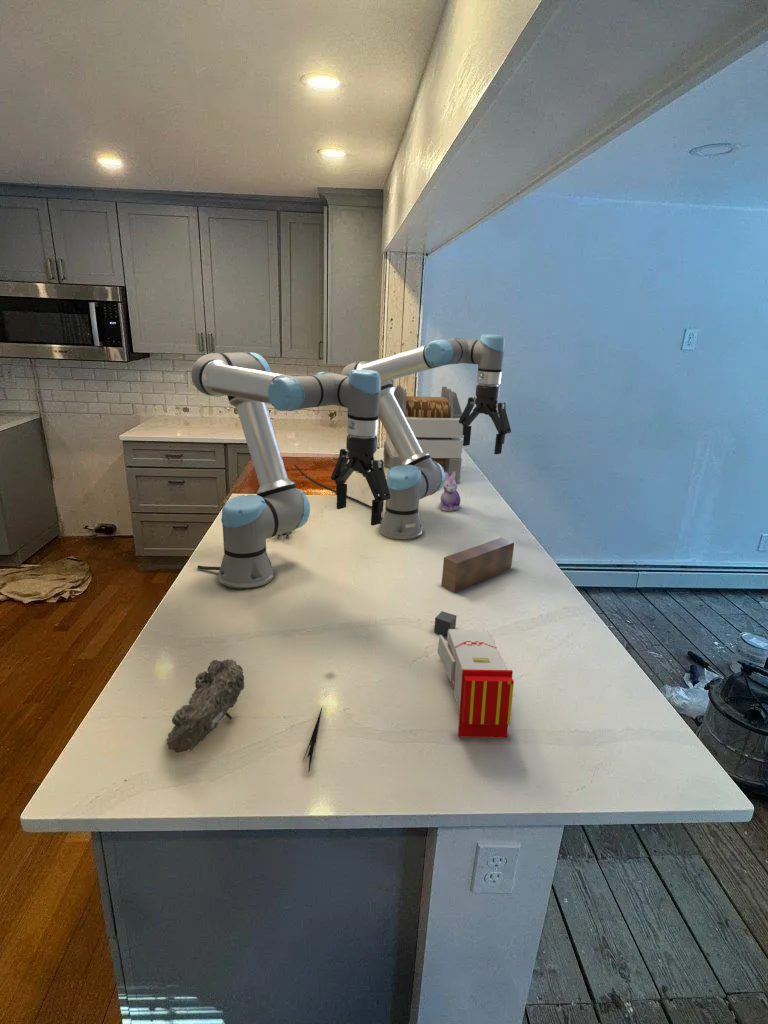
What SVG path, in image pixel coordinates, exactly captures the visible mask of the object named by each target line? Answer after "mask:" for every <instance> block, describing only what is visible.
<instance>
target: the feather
mask: <svg viewBox="0 0 768 1024" xmlns="http://www.w3.org/2000/svg"><path fill="white" fill-rule="evenodd" d="M329 675H330V676H331V675H332V674H331V673H330V674H329ZM322 710H323V707H321V708H320V710H319V713H318V716H317V719H316V723H315V725H314V728H313V731H312V733H311V737H310V739H309V742H308V745H307V748H306V751H305V754H304V757H303V760H302V763H301V767H302V765H303V763H304V761H305V758H308V759H309V760H308V762H307V763H308V764H307V766H308V771H310V770H311V766H312V765H311V764H312V760H313V757H315V756H314V755H315V751H316V749H315V746H317V739H318V733H319V729H320V722H321V717H322V712H323V711H322ZM313 754H314V755H313ZM306 755H307V757H306Z"/></svg>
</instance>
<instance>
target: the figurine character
mask: <svg viewBox="0 0 768 1024" xmlns="http://www.w3.org/2000/svg"><path fill="white" fill-rule="evenodd" d="M291 534H292V531H290V532H286V533H283V534H280V535H277V536H276V538H277V539H280V538H281V536H285V540H287V539H288V538H289V536H290V535H291Z"/></svg>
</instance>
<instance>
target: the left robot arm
mask: <svg viewBox="0 0 768 1024" xmlns="http://www.w3.org/2000/svg"><path fill="white" fill-rule="evenodd" d="M190 376H191V380H192V383H193V386H194V387H195V389H196V390H198V391H199V392H200V393H201V394H204V395H207V396H212V397H216V398H217V397H218V398H220V397H224V396H227V399H228V403H229V404H230V405H231V406H233V407H235V408H236V411H237V414H238V418H239V421H240V425H241V428H242V431H243V432H242V433H243V434H244V435H243V436H244V438H245V441H246V445H247V448H248V452H249V455H250V457H251V461H252V465H253V469H254V472H255V475H256V478H257V482H258V485H259V486H258V487H259V488H258V490H257V491H256V494H246V495H245V494H242V495H238V496H235V497H233V498H230V499H228V500H227V501H226V502H225V503H224V504H223V506H222V507H221V508H222V509H221V510H222V511H221V519H220V520H221V524H222V541H223V542H222V543H223V557H222V560H221V562H220V566H203V565H197V567H196V568H197V569H198V570H202V571H203V570H204V571H218V581H219V583H220V584H221V585H223V586H225V587H227V588H230V589H234V590H235V589H236V590H249V589H256V588H260V587H263V586H265V585H267V584H268V583H270V582H271V581H272V580H273V578H274V568H273V565H272V561H271V558H270V556H269V554H268V552H267V539H270V538H273V537H277V536H278V535H280V534H283V533H286V532H290V531H291V532H295V531H296V530H298V529H300V528H302V527H303V526H305V525H306V523H307V522H308V521H309V520H308V519H309V517H310V515H311V514H310V513H311V506H310V500H309V498H308V496H307V494H306V493H304V491H303V490H301V489H299V488H297V486H296V482H294V481H293V480H291V479H290V478H289V476H288V474H287V470H286V467H285V463H284V460H283V457H282V453H281V450H280V447H279V442H278V440H277V436H276V432H275V429H274V426H273V422H272V419H271V416H270V413H269V409H268V405H271V406H272V407H273V408H274V409H275V410H277V411H279V412H294V411H296V410H297V411H298V410H304V409H312V408H320V407H328V406H339V407H342V408H347V425H346V433H347V435H346V445H345V448H340V449H339V456H338V459H337V461H336V464H335V466H334V469H333V471H332V473H331V476H330V480H331V481H334V483H335V485H336V486H335V488H336V489H335V490H336V493H335V495H336V510H341V509H346V508H347V499H348V498H347V495H348V484H347V480H348V479H349V478H350V476H351V475H352V474H353V473H354V472H358V473H359V474H361V475H362V477H364V478H365V480H366V482H367V484H368V487H369V490H370V491H371V494H372V496H373V499H372V500H371V506H372V509H371V512H370V513H371V515H370V526H372V527H373V526H377V525H380V523H381V522H382V520H381V517H382V514H383V512H384V505H385V504H384V503H385V501H386V500H388V499H390V498H391V497H390V493H389V489H388V485H387V481H386V479H387V476H386V474H385V469H384V464H383V463H384V459H381V458H380V459H375V453H376V452H377V450H378V437H377V436H378V434H379V415H378V413H379V401H380V392H381V388H380V374H379V373H378V372H376V371H372V370H363V369H356V370H352V371H350V373H349V376H345V375H341V373H340V374H339V373H334V372H332V371H320V372H317V373H316V374H312V375H311V374H310V375H289V374H283V373H277V372H272V370H271V367H270V365H269V363H268V362H267V360H266V359H265V358H264V357H263V356H262V355H261V354H259V353H257V352H251V351H250V352H249V351H240V352H239V351H238V352H210V353H207V354H203V355H202V356H200V357H199V358H198V359H197V360H196V361H195V362H194V363H193V365H192V368H191V372H190ZM267 404H268V405H267ZM280 536H281V535H280Z"/></svg>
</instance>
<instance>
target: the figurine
mask: <svg viewBox="0 0 768 1024" xmlns="http://www.w3.org/2000/svg"><path fill="white" fill-rule="evenodd" d="M457 484H458V483H456V482H455V471H453V472H452V474H451V476H449V475H448V473H447V472H445V481H444V484H443V486H442V488H443V490H444V491H443V492H442V493H441V495H440V503H439V508H440V509H441V510H442V511H445V512H452V511H457V510H458V509H460V505H461V495H460V493H459V492H458V491H457V489H458V486H457Z"/></svg>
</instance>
